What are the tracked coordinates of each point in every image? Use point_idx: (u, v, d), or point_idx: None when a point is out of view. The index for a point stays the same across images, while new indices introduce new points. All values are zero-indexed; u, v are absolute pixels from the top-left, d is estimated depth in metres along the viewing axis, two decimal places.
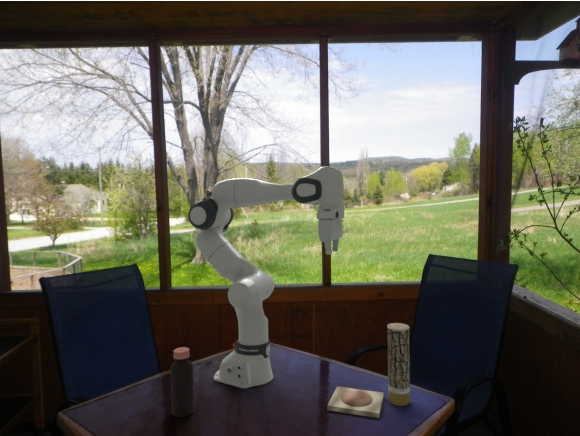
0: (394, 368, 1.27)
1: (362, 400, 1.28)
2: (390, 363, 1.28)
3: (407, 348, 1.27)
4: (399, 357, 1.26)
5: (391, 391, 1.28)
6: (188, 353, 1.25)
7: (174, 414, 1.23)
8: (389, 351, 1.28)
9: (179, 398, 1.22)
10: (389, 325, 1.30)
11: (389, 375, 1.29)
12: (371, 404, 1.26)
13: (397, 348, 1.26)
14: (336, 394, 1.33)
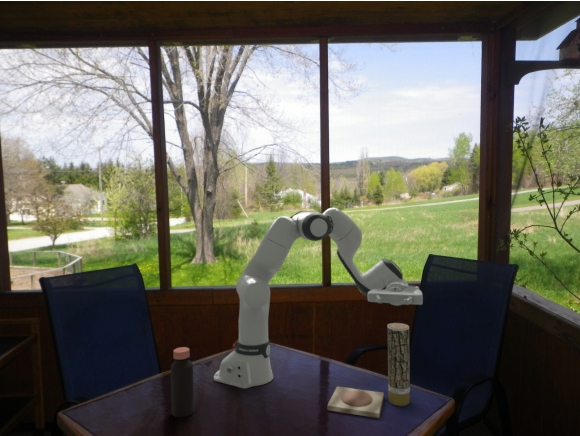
0: (394, 368, 1.27)
1: (362, 400, 1.28)
2: (390, 363, 1.28)
3: (407, 348, 1.27)
4: (399, 357, 1.26)
5: (391, 391, 1.28)
6: (188, 353, 1.25)
7: (174, 414, 1.23)
8: (389, 351, 1.28)
9: (179, 398, 1.22)
10: (389, 325, 1.30)
11: (389, 375, 1.29)
12: (371, 404, 1.26)
13: (397, 348, 1.26)
14: (336, 394, 1.33)
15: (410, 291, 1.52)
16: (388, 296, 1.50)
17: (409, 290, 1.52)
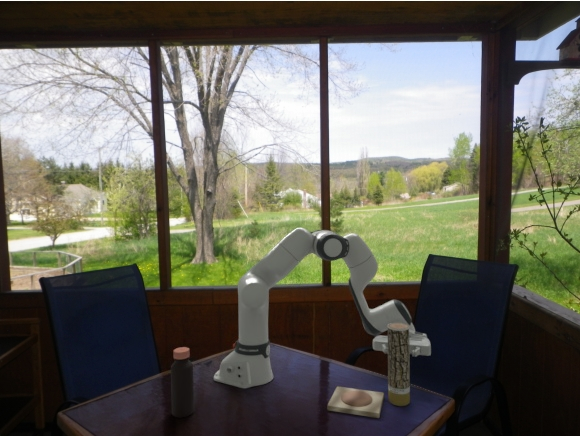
0: (394, 368, 1.27)
1: (362, 400, 1.28)
2: (390, 363, 1.28)
3: (407, 348, 1.27)
4: (399, 357, 1.26)
5: (391, 391, 1.28)
6: (188, 353, 1.25)
7: (174, 414, 1.23)
8: (389, 351, 1.28)
9: (179, 397, 1.22)
10: (389, 325, 1.30)
11: (389, 375, 1.29)
12: (371, 404, 1.26)
13: (397, 348, 1.26)
14: (336, 394, 1.33)
15: (417, 339, 1.45)
16: None
17: (416, 338, 1.45)
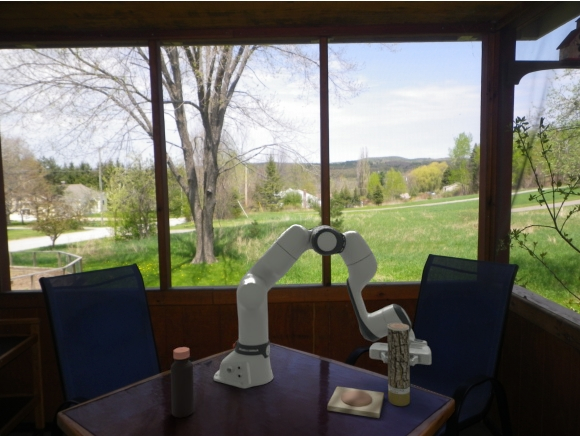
0: (394, 368, 1.27)
1: (362, 400, 1.28)
2: (390, 363, 1.28)
3: (407, 348, 1.27)
4: (399, 357, 1.26)
5: (391, 391, 1.28)
6: (188, 353, 1.25)
7: (174, 414, 1.23)
8: (389, 351, 1.28)
9: (179, 398, 1.22)
10: (389, 325, 1.30)
11: (389, 375, 1.29)
12: (371, 404, 1.26)
13: (397, 348, 1.26)
14: (336, 394, 1.33)
15: (417, 347, 1.37)
16: None
17: (416, 346, 1.37)
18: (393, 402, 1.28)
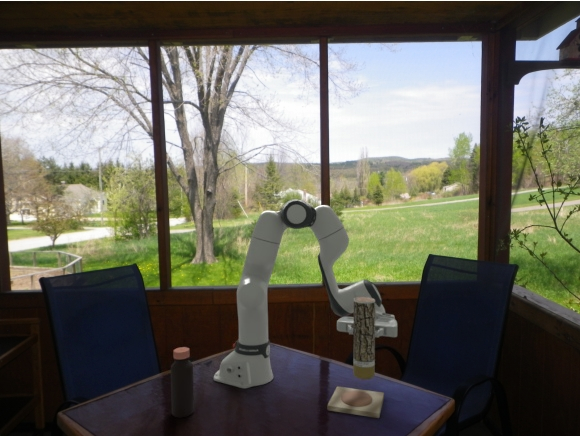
0: (359, 341, 1.26)
1: (362, 400, 1.28)
2: (355, 336, 1.28)
3: (372, 321, 1.26)
4: (364, 330, 1.26)
5: (356, 364, 1.27)
6: (188, 353, 1.25)
7: (174, 414, 1.23)
8: (354, 324, 1.28)
9: (179, 398, 1.22)
10: (355, 298, 1.29)
11: (354, 348, 1.28)
12: (371, 404, 1.26)
13: (362, 321, 1.26)
14: (336, 394, 1.33)
15: (384, 320, 1.36)
16: None
17: (383, 319, 1.36)
18: (357, 375, 1.27)
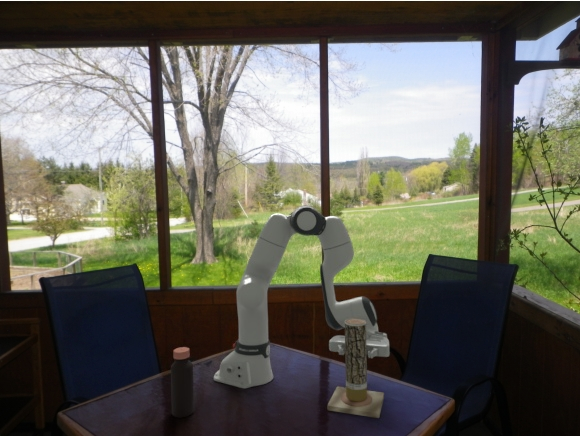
0: (351, 363, 1.26)
1: None
2: (347, 359, 1.28)
3: (363, 343, 1.26)
4: (355, 352, 1.26)
5: (348, 386, 1.27)
6: (188, 353, 1.25)
7: (174, 414, 1.23)
8: (346, 347, 1.28)
9: (179, 398, 1.22)
10: (346, 321, 1.30)
11: (346, 371, 1.28)
12: (371, 404, 1.26)
13: (353, 343, 1.26)
14: (336, 394, 1.33)
15: (377, 339, 1.36)
16: None
17: (375, 338, 1.36)
18: (350, 398, 1.27)
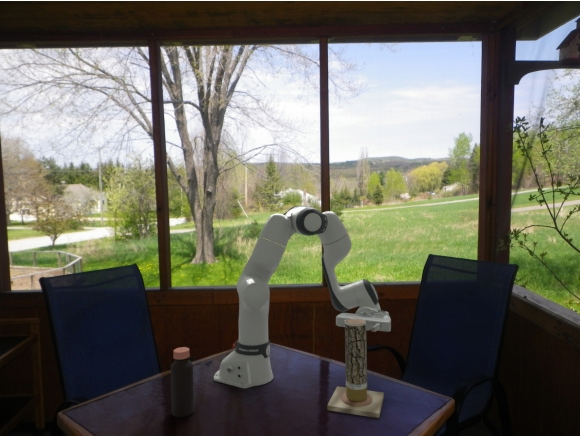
0: (351, 363, 1.26)
1: None
2: (347, 359, 1.28)
3: (364, 343, 1.26)
4: (356, 352, 1.26)
5: (348, 386, 1.27)
6: (188, 353, 1.25)
7: (174, 414, 1.23)
8: (346, 347, 1.28)
9: (179, 398, 1.22)
10: (346, 321, 1.30)
11: (346, 371, 1.28)
12: (371, 404, 1.26)
13: (353, 343, 1.26)
14: (336, 394, 1.33)
15: (379, 316, 1.50)
16: None
17: (378, 315, 1.50)
18: (350, 398, 1.27)
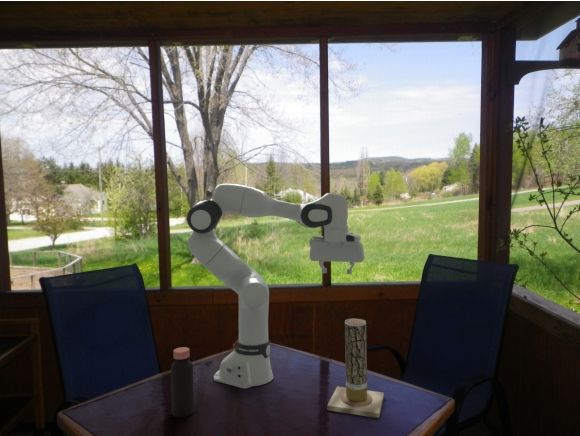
0: (351, 363, 1.26)
1: None
2: (347, 359, 1.28)
3: (364, 343, 1.26)
4: (356, 352, 1.26)
5: (348, 386, 1.27)
6: (188, 353, 1.25)
7: (174, 414, 1.23)
8: (346, 347, 1.28)
9: (179, 398, 1.22)
10: (346, 321, 1.30)
11: (346, 371, 1.28)
12: (371, 404, 1.26)
13: (353, 343, 1.26)
14: (336, 394, 1.33)
15: (350, 246, 1.45)
16: None
17: (349, 245, 1.45)
18: (350, 398, 1.27)
